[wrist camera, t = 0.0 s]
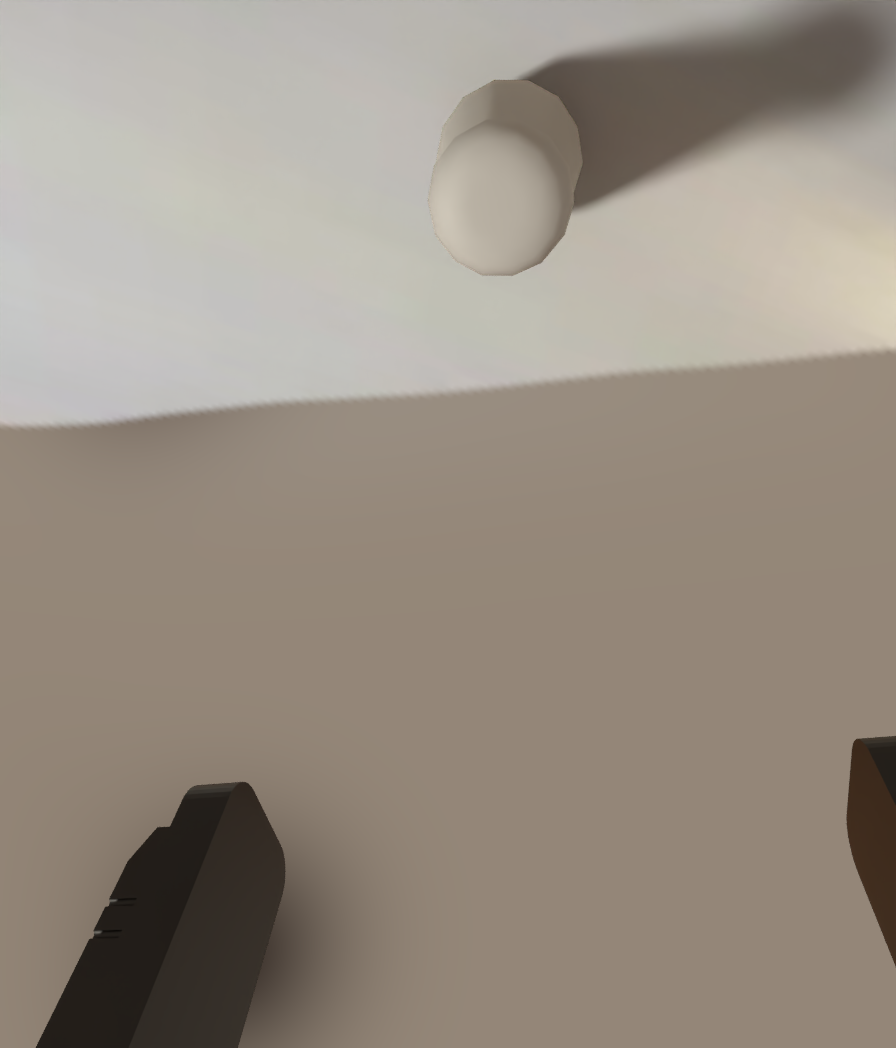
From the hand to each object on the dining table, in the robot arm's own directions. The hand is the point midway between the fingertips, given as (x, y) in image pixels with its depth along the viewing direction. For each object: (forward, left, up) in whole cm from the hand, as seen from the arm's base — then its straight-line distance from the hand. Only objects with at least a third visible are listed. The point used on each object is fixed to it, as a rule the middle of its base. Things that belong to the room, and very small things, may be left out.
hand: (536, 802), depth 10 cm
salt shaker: (-5, 0, -30) cm, 30 cm away
